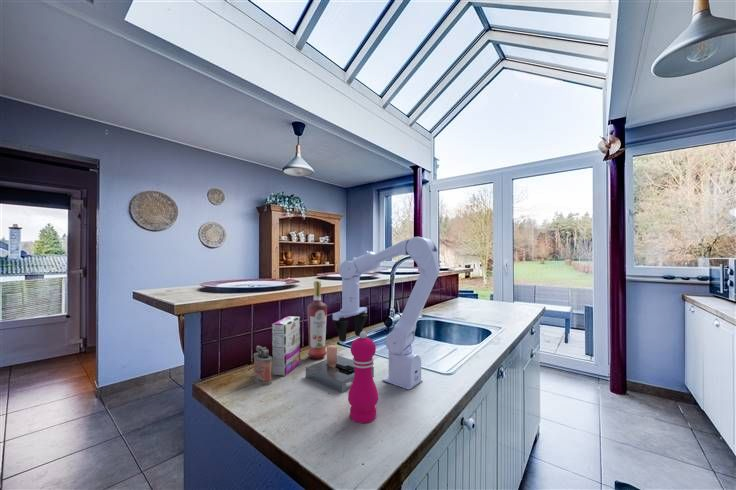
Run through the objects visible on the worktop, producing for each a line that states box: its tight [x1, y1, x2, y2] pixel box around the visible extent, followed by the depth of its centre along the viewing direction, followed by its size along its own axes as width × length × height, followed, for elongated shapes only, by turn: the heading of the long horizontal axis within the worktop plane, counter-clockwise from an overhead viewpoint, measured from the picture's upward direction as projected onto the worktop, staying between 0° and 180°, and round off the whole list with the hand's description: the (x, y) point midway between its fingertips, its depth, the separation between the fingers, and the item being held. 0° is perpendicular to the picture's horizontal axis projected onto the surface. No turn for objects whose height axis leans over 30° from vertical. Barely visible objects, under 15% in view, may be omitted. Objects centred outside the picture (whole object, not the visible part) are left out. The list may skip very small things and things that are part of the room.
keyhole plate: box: [305, 355, 375, 393], centre depth 93 cm, size 16×14×3 cm
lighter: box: [252, 345, 273, 387], centre depth 90 cm, size 8×3×10 cm, turn 47°
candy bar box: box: [271, 315, 301, 377], centre depth 99 cm, size 11×5×16 cm, turn 168°
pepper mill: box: [347, 330, 379, 424], centre depth 71 cm, size 7×7×20 cm
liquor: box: [307, 280, 328, 360], centre depth 111 cm, size 7×7×28 cm
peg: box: [326, 344, 340, 372], centre depth 95 cm, size 4×4×9 cm
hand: (350, 338), depth 98 cm, fingers open, 7 cm apart
